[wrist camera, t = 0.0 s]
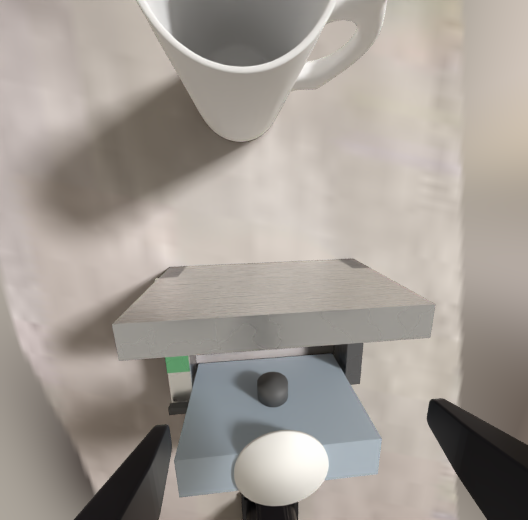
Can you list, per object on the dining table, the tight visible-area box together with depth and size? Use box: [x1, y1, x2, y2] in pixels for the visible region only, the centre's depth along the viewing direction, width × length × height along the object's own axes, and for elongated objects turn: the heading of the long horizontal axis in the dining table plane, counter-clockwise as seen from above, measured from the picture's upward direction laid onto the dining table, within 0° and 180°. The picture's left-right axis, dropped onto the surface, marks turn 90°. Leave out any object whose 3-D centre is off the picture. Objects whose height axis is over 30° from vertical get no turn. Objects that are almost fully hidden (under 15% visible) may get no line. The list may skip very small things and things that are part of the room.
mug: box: [136, 0, 387, 142], centre depth 13 cm, size 10×7×12 cm, turn 92°
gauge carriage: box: [168, 354, 382, 506], centre depth 20 cm, size 6×15×9 cm, turn 91°
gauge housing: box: [112, 259, 436, 403], centre depth 19 cm, size 11×17×10 cm, turn 91°
